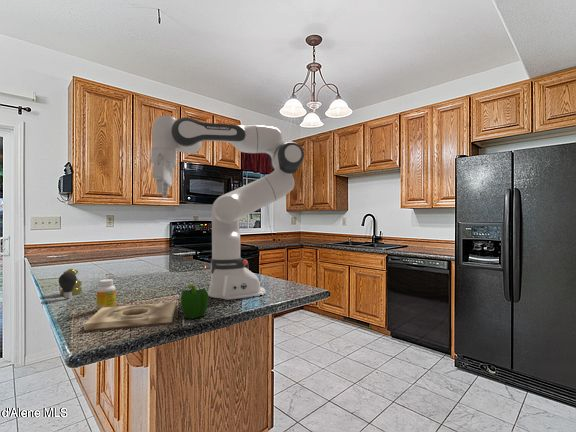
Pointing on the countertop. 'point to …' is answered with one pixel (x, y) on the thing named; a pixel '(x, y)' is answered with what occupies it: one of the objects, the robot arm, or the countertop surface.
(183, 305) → the bell pepper
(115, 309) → the socket board
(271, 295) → the countertop surface
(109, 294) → the supplement bottle
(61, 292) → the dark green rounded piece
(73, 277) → the light bulb
